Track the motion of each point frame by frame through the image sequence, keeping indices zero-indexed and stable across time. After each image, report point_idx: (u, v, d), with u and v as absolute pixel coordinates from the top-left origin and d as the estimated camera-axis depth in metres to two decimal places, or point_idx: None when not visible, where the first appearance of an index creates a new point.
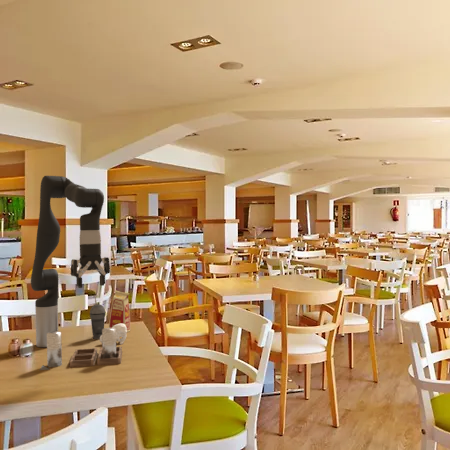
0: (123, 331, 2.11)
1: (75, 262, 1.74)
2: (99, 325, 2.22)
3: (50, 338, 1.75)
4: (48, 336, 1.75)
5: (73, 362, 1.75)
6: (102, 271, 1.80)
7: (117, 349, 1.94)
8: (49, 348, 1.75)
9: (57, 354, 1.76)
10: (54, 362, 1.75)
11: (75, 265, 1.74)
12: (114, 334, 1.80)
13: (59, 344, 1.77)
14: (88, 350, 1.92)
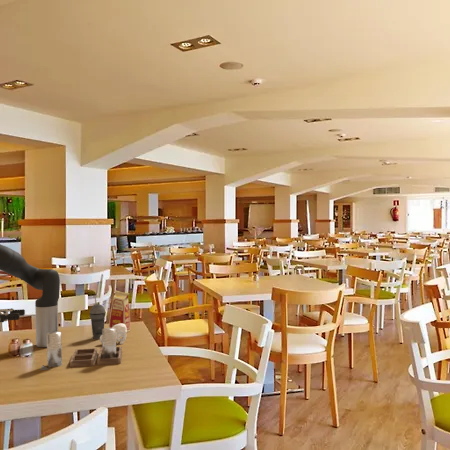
0: (123, 331, 2.11)
1: None
2: (99, 325, 2.22)
3: (50, 338, 1.75)
4: (48, 336, 1.75)
5: (73, 362, 1.75)
6: None
7: (117, 349, 1.94)
8: (49, 348, 1.75)
9: (57, 354, 1.76)
10: (54, 362, 1.75)
11: None
12: (114, 334, 1.80)
13: (59, 344, 1.77)
14: (88, 350, 1.92)
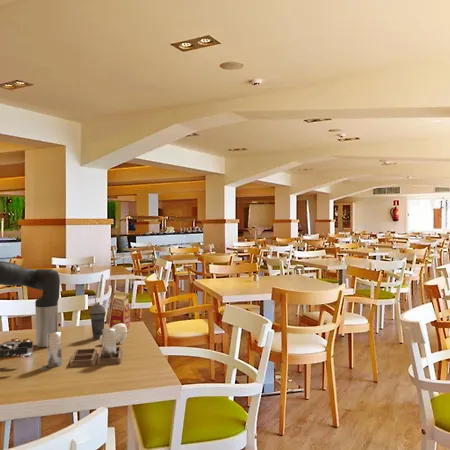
0: (123, 331, 2.11)
1: None
2: (99, 325, 2.22)
3: (50, 338, 1.75)
4: (48, 336, 1.75)
5: (73, 362, 1.75)
6: None
7: (117, 349, 1.94)
8: (49, 348, 1.75)
9: (57, 354, 1.76)
10: (54, 362, 1.75)
11: None
12: (114, 334, 1.80)
13: (59, 344, 1.77)
14: (88, 350, 1.92)
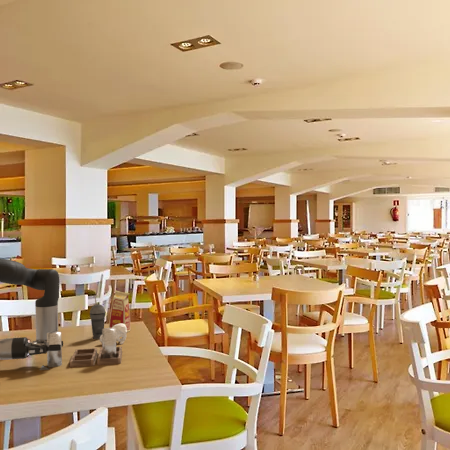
0: (123, 331, 2.11)
1: None
2: (99, 325, 2.22)
3: (50, 338, 1.75)
4: (48, 336, 1.75)
5: (73, 362, 1.75)
6: None
7: (117, 349, 1.94)
8: None
9: (57, 354, 1.76)
10: (54, 362, 1.75)
11: None
12: (114, 334, 1.80)
13: None
14: (88, 350, 1.92)
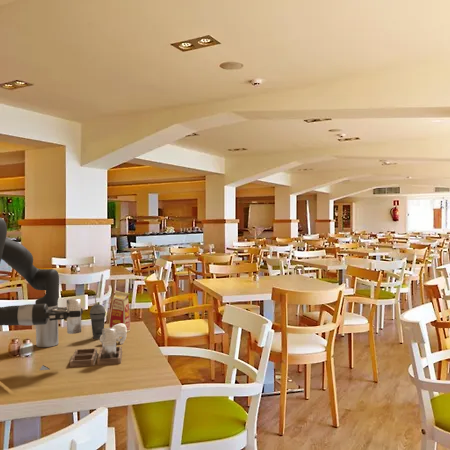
0: (123, 331, 2.11)
1: None
2: (99, 325, 2.22)
3: (70, 304, 1.76)
4: (68, 302, 1.77)
5: (73, 362, 1.75)
6: None
7: (117, 349, 1.94)
8: None
9: (77, 321, 1.77)
10: (74, 328, 1.76)
11: None
12: (114, 334, 1.80)
13: None
14: (88, 350, 1.92)
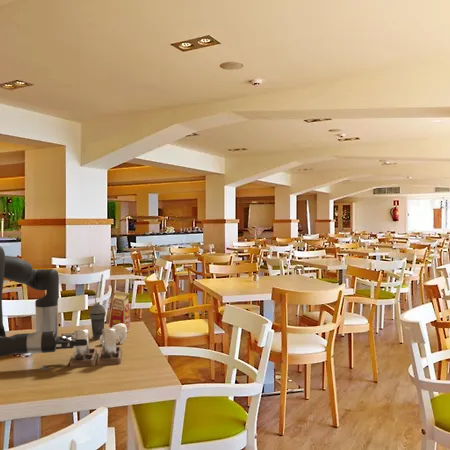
0: (123, 331, 2.11)
1: None
2: (99, 325, 2.22)
3: (77, 335, 1.77)
4: (76, 334, 1.77)
5: (73, 362, 1.75)
6: None
7: (117, 349, 1.94)
8: None
9: (85, 352, 1.78)
10: (82, 359, 1.77)
11: None
12: (114, 334, 1.80)
13: (87, 341, 1.78)
14: None
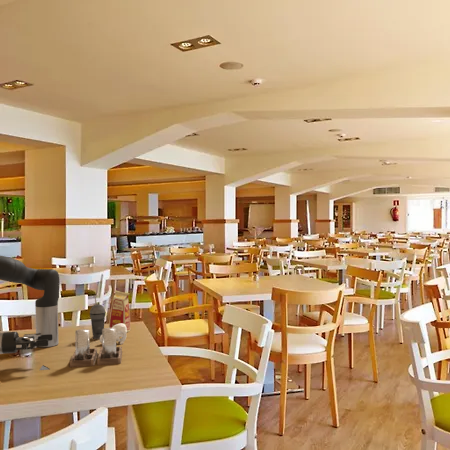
0: (123, 331, 2.11)
1: None
2: (99, 325, 2.22)
3: (79, 336, 1.77)
4: (77, 334, 1.77)
5: (73, 362, 1.75)
6: None
7: (117, 349, 1.94)
8: (78, 346, 1.77)
9: (86, 352, 1.78)
10: (83, 359, 1.77)
11: None
12: (114, 334, 1.80)
13: (87, 342, 1.78)
14: None
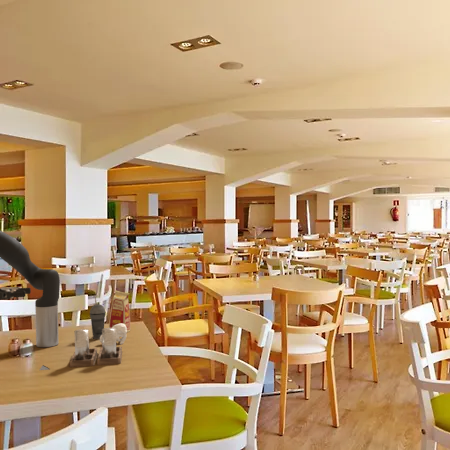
0: (123, 331, 2.11)
1: None
2: (99, 325, 2.22)
3: (78, 335, 1.77)
4: (76, 334, 1.77)
5: (73, 362, 1.75)
6: (9, 297, 1.72)
7: (117, 349, 1.94)
8: (77, 345, 1.77)
9: (86, 352, 1.78)
10: (83, 359, 1.77)
11: None
12: (114, 334, 1.80)
13: (87, 341, 1.79)
14: None
